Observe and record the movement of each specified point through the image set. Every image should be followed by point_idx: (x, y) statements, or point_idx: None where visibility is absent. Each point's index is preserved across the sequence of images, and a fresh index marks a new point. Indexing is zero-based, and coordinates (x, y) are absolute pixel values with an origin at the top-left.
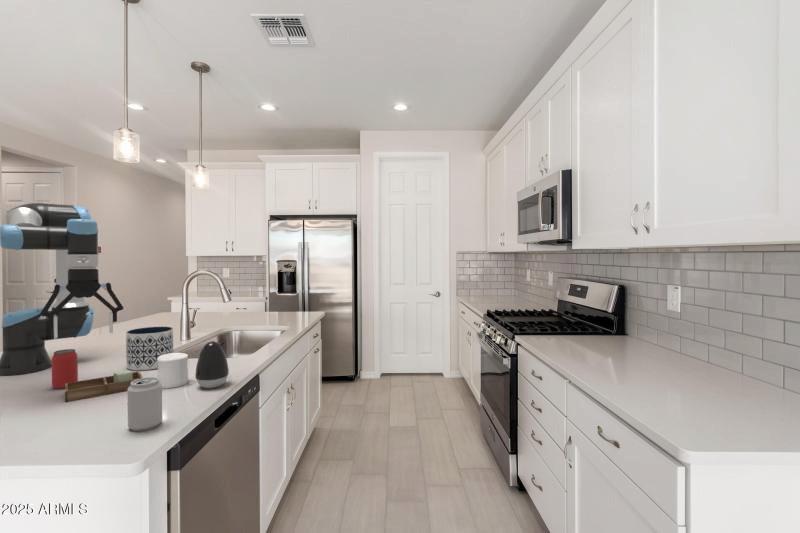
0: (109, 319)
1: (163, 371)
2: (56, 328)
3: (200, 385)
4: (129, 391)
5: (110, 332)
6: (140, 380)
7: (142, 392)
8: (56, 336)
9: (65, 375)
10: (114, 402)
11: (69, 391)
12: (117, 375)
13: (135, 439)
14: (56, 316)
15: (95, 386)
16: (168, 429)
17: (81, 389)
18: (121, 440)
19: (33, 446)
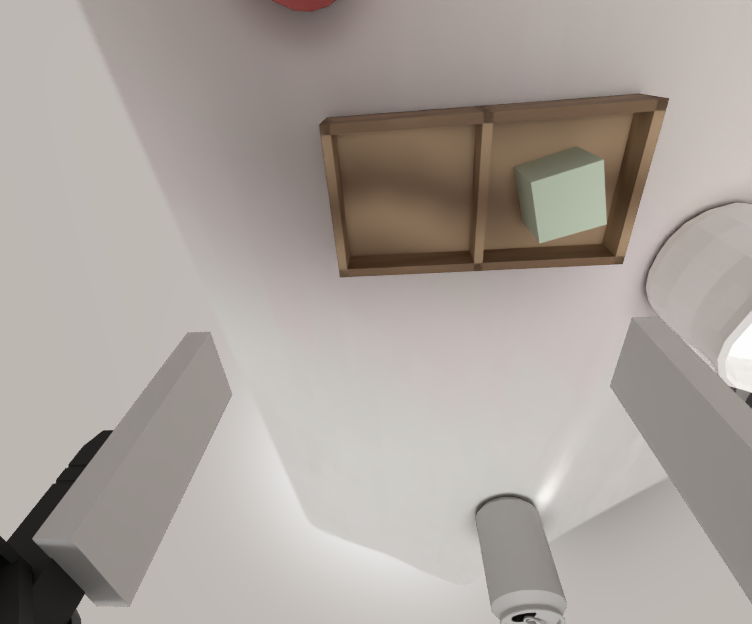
0: (717, 455)
1: (693, 344)
2: (190, 467)
3: (736, 388)
4: (492, 611)
5: (614, 390)
6: (527, 608)
7: (513, 618)
8: (220, 406)
9: (299, 4)
10: (479, 349)
11: (353, 275)
12: (536, 228)
13: (477, 541)
14: (87, 566)
15: (439, 271)
16: None
17: (392, 274)
18: (457, 535)
19: (330, 491)
